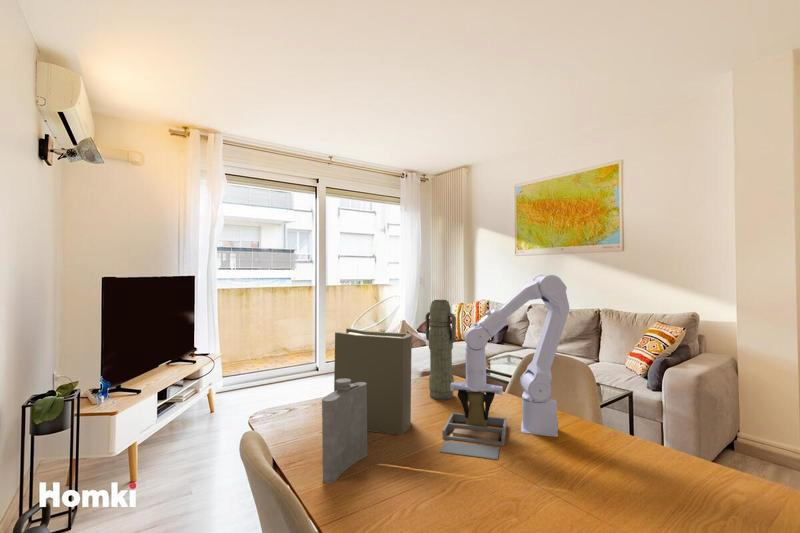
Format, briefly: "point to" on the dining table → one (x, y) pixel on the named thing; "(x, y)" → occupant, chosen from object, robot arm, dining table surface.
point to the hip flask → (343, 428)
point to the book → (378, 375)
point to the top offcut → (476, 434)
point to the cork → (476, 409)
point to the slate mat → (470, 450)
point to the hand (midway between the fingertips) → (476, 417)
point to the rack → (475, 428)
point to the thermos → (440, 349)
